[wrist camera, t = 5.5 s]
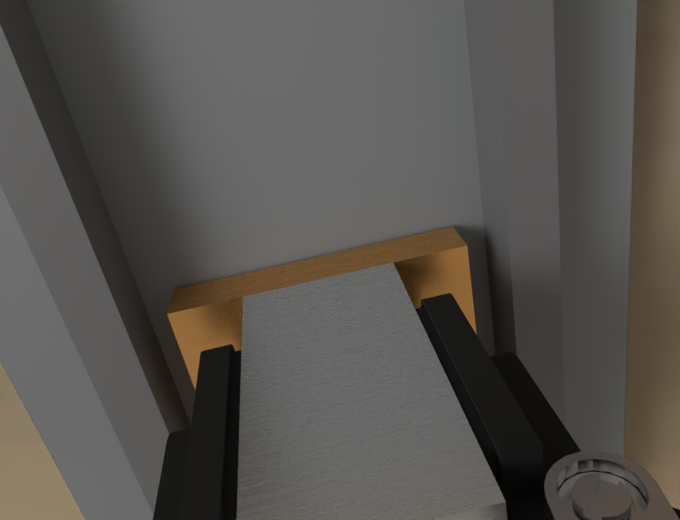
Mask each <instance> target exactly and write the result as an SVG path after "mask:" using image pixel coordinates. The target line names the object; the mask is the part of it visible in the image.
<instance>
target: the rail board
mask: <svg viewBox="0 0 680 520" xmlns="http://www.w3.org/2000/svg"><path fill="white" fill-rule="evenodd" d="M636 24H637V0H0V361H1V363H2V365H3V367H4V369H5V371H6V373H7V374H8V376H9V378H10V380H11V382H12V384H13V386H14V387H15V389H16V391H17V393H18V395H19V397H20V399H21V400H22V402H23V404H24V406H25V408H26V410H27V412H28V413H29V415H30V417H31V419H32V421H33V423H34V425H35V426H36V428H37V430H38V432H39V434H40V436H41V438H42V439H43V441H44V443H45V445H46V447H47V449H48V451H49V453H50V454H51V456H52V458H53V460H54V462H55V464H56V466H57V467H58V469H59V471H60V473H61V475H62V477H63V479H64V480H65V482H66V484H67V486H68V488H69V490H70V492H71V493H72V495H73V497H74V499H75V501H76V503H77V505H78V506H79V508H80V510H81V512H82V514H83V516H84V518H85V519H86V520H153V515H154V510H155V504H156V499H157V493H158V487H159V482H160V476H161V471H162V465H163V460H164V454H165V448H166V443H167V439H168V436H169V434H170V433H171V432H175V431H179V430H183V429H187V428H191V420H192V413H193V405H194V398H195V388H194V385H193V383H192V380H191V377H190V375H189V372H188V369H187V367H186V364H185V361H184V358H183V356H182V353H181V350H180V348H179V345H178V342H177V340H176V337H175V334H174V331H173V329H172V326H171V323H170V321H169V318H168V315H167V312H168V308H169V304H170V300H171V296H172V292H173V290H174V289H178V288H182V287H187V286H191V285H196V284H200V283H204V282H209V281H213V280H218V279H222V278H226V277H231V276H235V275H240V274H244V273H248V272H253V271H257V270H262V269H266V268H270V267H275V266H279V265H284V264H288V263H293V262H297V261H301V260H306V259H310V258H315V257H319V256H323V255H328V254H332V253H337V252H341V251H345V250H350V249H354V248H359V247H363V246H367V245H372V244H376V243H381V242H385V241H389V240H394V239H398V238H403V237H407V236H411V235H416V234H420V233H425V232H429V231H434V230H438V229H442V228H447V227H451V226H453V227H454V229H455V230H456V231H457V233H458V234H459V235H460V237H461V238H462V239H463V241H464V242H465V243H466V244H467V247H468V257H469V267H470V276H471V286H472V296H473V305H474V315H475V324H476V334H477V336H478V338H479V340H480V341H481V343H482V345H483V346H484V348H485V350H486V351H487V353H488V355H489V356H494V355H498V354H503V353H507V352H513V353H515V354H516V356H517V357H518V358H519V359H520V361H521V362H522V364H523V365H524V367H525V368H526V370H527V371H528V373H529V374H530V376H531V377H532V379H533V380H534V382H535V383H536V385H537V386H538V388H539V389H540V391H541V392H542V394H543V395H544V397H545V398H546V400H547V401H548V402H549V404H550V405H551V407H552V408H553V410H554V411H555V413H556V414H557V416H558V417H559V419H560V420H561V422H562V423H563V425H564V426H565V428H566V429H567V431H568V432H569V434H570V435H571V437H572V438H573V440H574V441H575V443H576V444H577V446H578V447H579V449H580V450H581V451H602V452H608V453H614V454H617V455H619V456H622V457H624V429H625V396H626V362H627V328H628V294H629V260H630V227H631V193H632V159H633V125H634V91H635V57H636Z"/></svg>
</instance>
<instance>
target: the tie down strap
mask: <svg viewBox="0 0 680 520" xmlns="http://www.w3.org/2000/svg"><path fill="white" fill-rule="evenodd" d="M447 293H451V294H452V295H453V297H454V298H455V300H456V301H457V303H458V305H459V306H460V308H461V310H462V311H463V313H464V315H465V316H466V318H467V320H468V321H469V323H470V325H471V326H472V328H473V330H474V331H475V333H476V324H475V315H474V305H473V296H472V286H471V276H470V267H469V257H468V247H467V244H466V243H465V242H464V241H463V239H462V238H461V237H460V235H459V234H458V233H457V231H456V230H455V229H454V227H453V226H451V227H447V228H442V229H438V230H434V231H429V232H425V233H420V234H416V235H411V236H407V237H403V238H398V239H394V240H389V241H385V242H381V243H376V244H372V245H367V246H363V247H359V248H354V249H350V250H345V251H341V252H337V253H332V254H328V255H323V256H319V257H315V258H310V259H306V260H301V261H297V262H293V263H288V264H284V265H279V266H275V267H270V268H266V269H262V270H257V271H253V272H248V273H244V274H240V275H235V276H231V277H226V278H222V279H218V280H213V281H209V282H204V283H200V284H196V285H191V286H187V287H182V288H178V289H174V290H173V292H172V296H171V300H170V304H169V308H168V312H167V315H168V318H169V321H170V323H171V326H172V329H173V331H174V334H175V337H176V340H177V342H178V345H179V348H180V350H181V353H182V356H183V358H184V361H185V364H186V367H187V369H188V372H189V375H190V377H191V380H192V383H193V385H194V388H195V390H196V383H197V375H198V368H199V360H200V354H201V352H202V351H204V350H208V349H212V348H217V347H221V346H225V345H229V344H232V345H233V347H234V349H235V351H238V350H241V385H240V420H239V455H238V490H237V520H508V519H507V508H506V501H505V499H504V497H503V495H502V493H501V490H500V488H499V486H498V484H497V482H496V480H495V478H494V476H493V473H492V471H491V469H490V467H489V465H488V463H487V461H486V459H485V456H484V454H483V452H482V450H481V448H480V446H479V444H478V442H477V439H476V437H475V435H474V433H473V431H472V429H471V427H470V425H469V422H468V420H467V418H466V416H465V414H464V412H463V410H462V408H461V405H460V403H459V401H458V399H457V397H456V395H455V393H454V391H453V389H452V386H451V384H450V382H449V380H448V378H447V376H446V374H445V372H444V369H443V367H442V365H441V363H440V361H439V359H438V357H437V355H436V352H435V350H434V348H433V346H432V344H431V342H430V340H429V338H428V335H427V333H426V331H425V329H424V327H423V325H422V323H421V321H420V318H419V316H418V314H417V312H416V310H415V309H417V308H421V299H426V298H430V297H434V296H438V295H443V294H447ZM476 335H477V334H476Z"/></svg>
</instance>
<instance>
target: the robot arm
mask: <svg viewBox="0 0 680 520" xmlns="http://www.w3.org/2000/svg"><path fill="white" fill-rule="evenodd" d="M415 310H416V312H417V314H418V316H419V318H420V321H421V323H422V325H423V327H424V329H425V331H426V333H427V335H428V338H429V340H430V342H431V344H432V346H433V348H434V350H435V352H436V355H437V357H438V359H439V361H440V363H441V365H442V367H443V369H444V372H445V374H446V376H447V378H448V380H449V382H450V384H451V386H452V389H453V391H454V393H455V395H456V397H457V399H458V401H459V403H460V405H461V408H462V410H463V412H464V414H465V416H466V418H467V420H468V422H469V425H470V427H471V429H472V431H473V433H474V435H475V437H476V439H477V442H478V444H479V446H480V448H481V450H482V452H483V454H484V456H485V459H486V461H487V463H488V465H489V467H490V469H491V471H492V473H493V476H494V478H495V480H496V482H497V484H498V486H499V488H500V490H501V493H502V495H503V497H504V499H505V501H506V508H507V519H508V520H680V510H679V509H676V508H673V507H672V506H671V505H670V503H669V502H668V500H667V498H666V497H665V495H664V494H663V492H662V490H661V489H660V487H659V486H658V484H657V482H656V481H655V480H654V479H653V478H652V477H651V475H650V474H649V473H648V472H647V471H646V470H645V469H644V468H642V467H641V466H639V465H638V464H636V463H635V462H633V461H632V460H630V459H627V458H625V457H622V456H619V455H617V454H614V453H608V452H602V451H581V450H580V449H579V447H578V446H577V444H576V443H575V441H574V440H573V438H572V437H571V435H570V434H569V432H568V431H567V429H566V428H565V426H564V425H563V423H562V422H561V420H560V419H559V417H558V416H557V414H556V413H555V411H554V410H553V408H552V407H551V405H550V404H549V402H548V401H547V400H546V398H545V397H544V395H543V394H542V392H541V391H540V389H539V388H538V386H537V385H536V383H535V382H534V380H533V379H532V377H531V376H530V374H529V373H528V371H527V370H526V368H525V367H524V365H523V364H522V362H521V361H520V359H519V358H518V357H517V356H516V354H515V353H513V352H507V353H503V354H498V355H494V356H489V355H488V353H487V351H486V350H485V348H484V346H483V345H482V343H481V341H480V340H479V338H478V336H477V335H476V333H475V331H474V330H473V328H472V326H471V325H470V323H469V321H468V320H467V318H466V316H465V315H464V313H463V311H462V310H461V308H460V306H459V305H458V303H457V301H456V300H455V298H454V297H453V295H452V294H451V293H447V294H443V295H438V296H434V297H430V298H426V299H421V308H417V309H415ZM240 385H241V350H238V351H235V349H234V347H233V345H232V344H229V345H225V346H221V347H217V348H212V349H208V350H204V351H202V352H201V354H200V360H199V368H198V375H197V383H196V390H195V398H194V405H193V413H192V420H191V428H187V429H183V430H179V431H175V432H171V433H170V434H169V436H168V439H167V443H166V448H165V454H164V460H163V465H162V471H161V476H160V482H159V487H158V493H157V499H156V504H155V510H154V515H153V520H237V490H238V455H239V420H240Z"/></svg>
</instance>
